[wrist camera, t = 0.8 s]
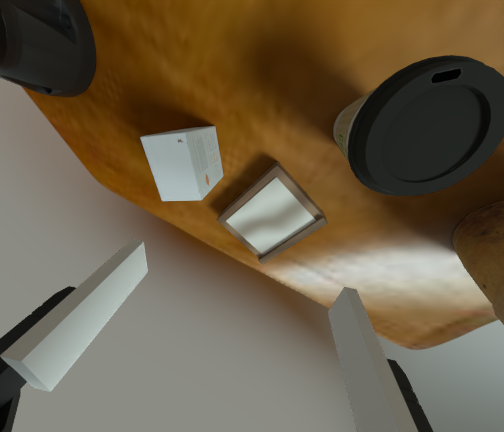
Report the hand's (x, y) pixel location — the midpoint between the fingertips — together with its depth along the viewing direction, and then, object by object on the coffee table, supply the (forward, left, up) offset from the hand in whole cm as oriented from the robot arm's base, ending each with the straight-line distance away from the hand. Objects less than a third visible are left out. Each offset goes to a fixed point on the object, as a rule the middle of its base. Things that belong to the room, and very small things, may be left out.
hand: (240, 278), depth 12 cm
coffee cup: (+3, +15, -22) cm, 27 cm away
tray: (+5, -3, -22) cm, 23 cm away
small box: (-10, -4, -22) cm, 25 cm away
